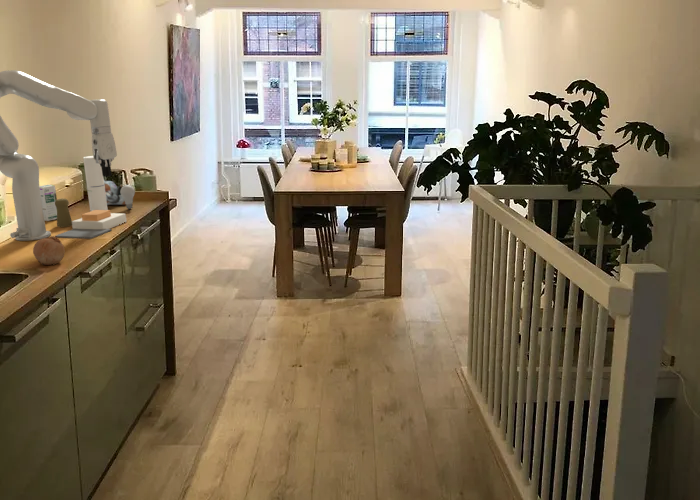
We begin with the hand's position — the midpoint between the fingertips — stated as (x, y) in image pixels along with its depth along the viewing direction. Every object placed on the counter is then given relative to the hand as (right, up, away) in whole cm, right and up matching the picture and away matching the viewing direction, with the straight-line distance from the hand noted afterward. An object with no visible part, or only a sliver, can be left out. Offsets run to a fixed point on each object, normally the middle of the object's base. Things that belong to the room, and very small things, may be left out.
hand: (107, 176), depth 296 cm
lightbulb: (+1, -12, +28) cm, 31 cm away
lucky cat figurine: (-9, -9, +41) cm, 43 cm away
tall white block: (-10, -15, +21) cm, 27 cm away
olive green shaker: (-17, -20, 0) cm, 27 cm away
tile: (-2, -17, -5) cm, 18 cm away
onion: (+1, -35, -57) cm, 67 cm away
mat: (-4, -24, -16) cm, 29 cm away
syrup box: (-29, -17, +14) cm, 36 cm away
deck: (-2, -20, -3) cm, 21 cm away
